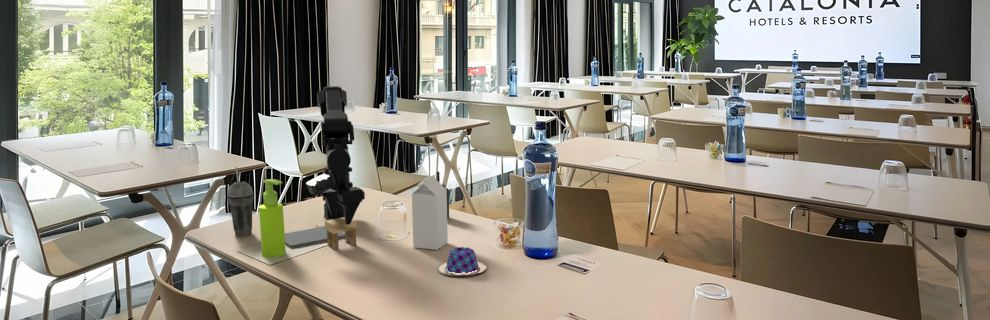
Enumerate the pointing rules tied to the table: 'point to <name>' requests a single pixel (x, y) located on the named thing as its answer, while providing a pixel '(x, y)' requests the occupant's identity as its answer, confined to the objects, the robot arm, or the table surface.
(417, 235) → the milk carton
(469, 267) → the pudding
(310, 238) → the grey rectangular board
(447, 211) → the walkie-talkie
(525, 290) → the table surface
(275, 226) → the soap dispenser
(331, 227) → the oak stool
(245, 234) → the beverage cup
